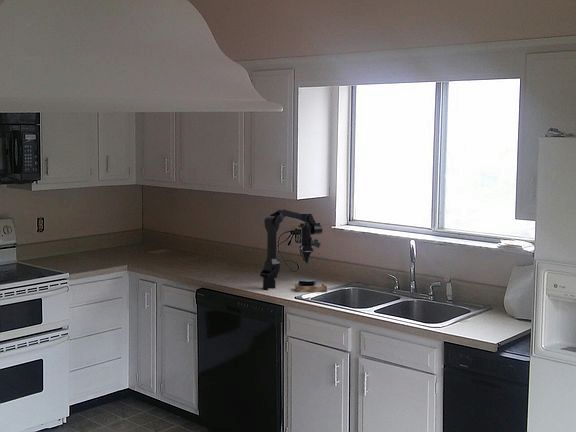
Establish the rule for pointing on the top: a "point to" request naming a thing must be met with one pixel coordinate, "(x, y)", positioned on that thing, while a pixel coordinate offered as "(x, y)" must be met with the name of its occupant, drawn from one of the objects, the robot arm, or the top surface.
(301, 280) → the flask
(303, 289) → the frame
